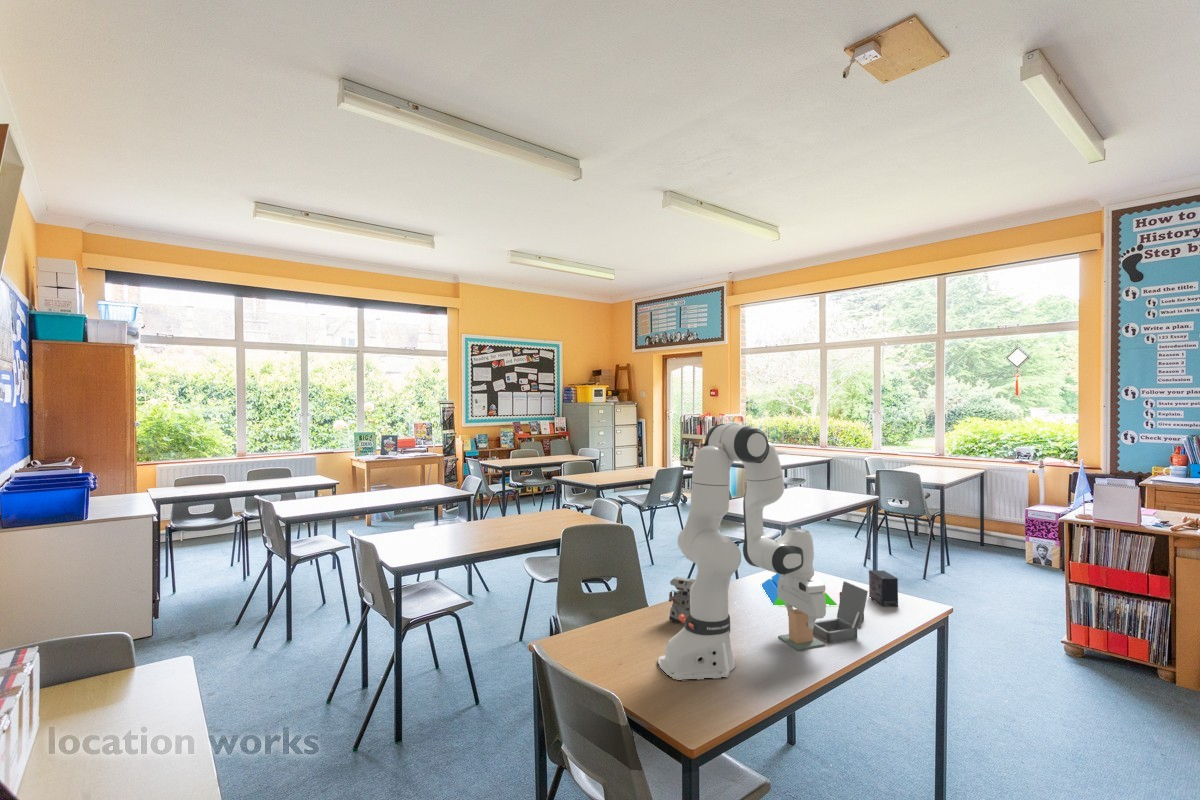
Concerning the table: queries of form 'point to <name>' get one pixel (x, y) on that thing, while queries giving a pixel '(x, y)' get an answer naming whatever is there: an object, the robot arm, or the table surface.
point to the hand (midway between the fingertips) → (800, 622)
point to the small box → (883, 588)
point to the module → (799, 627)
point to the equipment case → (844, 616)
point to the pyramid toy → (772, 586)
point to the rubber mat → (801, 645)
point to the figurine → (680, 598)
